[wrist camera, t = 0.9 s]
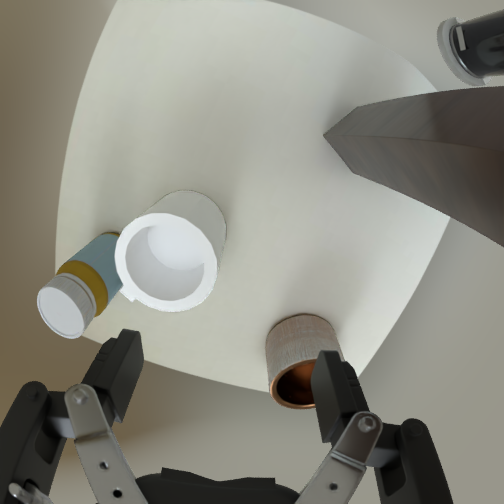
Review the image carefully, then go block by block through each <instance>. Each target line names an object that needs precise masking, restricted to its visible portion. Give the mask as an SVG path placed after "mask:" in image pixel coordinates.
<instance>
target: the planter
mask: <svg viewBox="0 0 504 504" xmlns="http://www.w3.org/2000/svg"><path fill="white" fill-rule="evenodd" d="M321 350H337V351H338V353H339V355H340V358H341V361H345V360H344V357H343V354H342V351H341V348H340V345H339V343H338V340H337V337H336V334H335V332H334V330H333V328H332V327H331V325H330V324H329V323H328V322H327V321H325V320H324V319H322V318H319V317H316V316H311V315H301V316H295V317H291V318H289V319H286V320H284V321H282V322H281V323H279V324H278V325H277V326H275V327H274V328H273V329H272V331H271V332H270V333H269V335H268V337H267V340H266V359H267V370H268V381H269V392H270V395H271V397H272V399H273V400H274V401H275V402H276V403H278V404H279V405H281V406H284V407H287V408H291V409H311V408H316V407H315V402H314V397H313V393H312V388H311V375H312V371H313V369H314V366H315V363H316V360H317V357H318V354H319V352H320V351H321Z"/></svg>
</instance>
